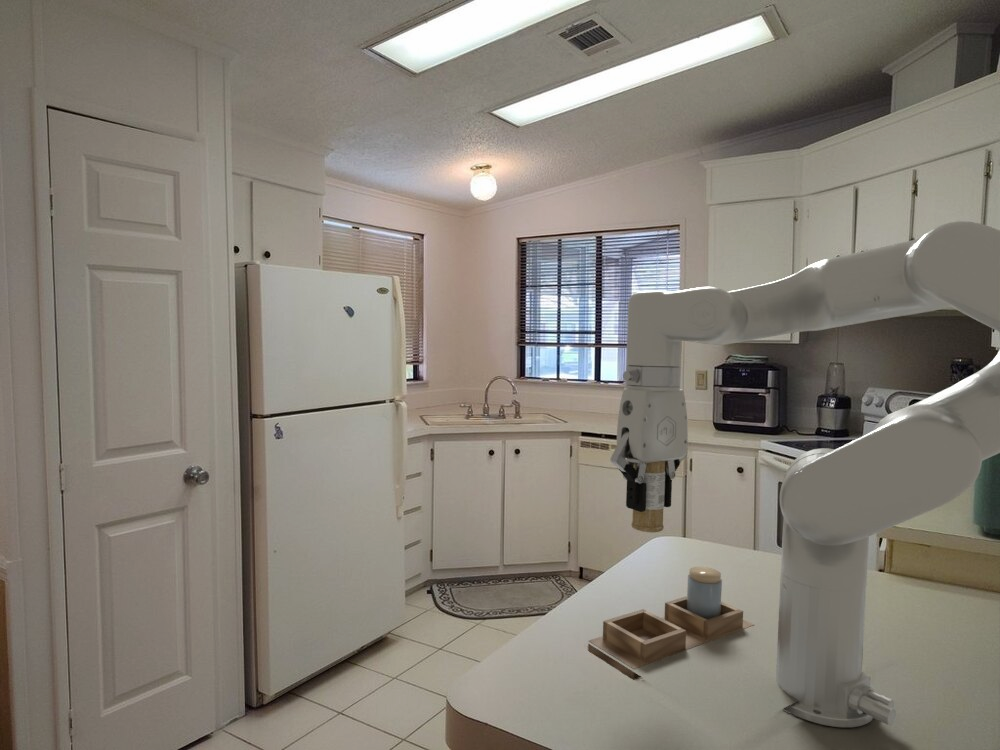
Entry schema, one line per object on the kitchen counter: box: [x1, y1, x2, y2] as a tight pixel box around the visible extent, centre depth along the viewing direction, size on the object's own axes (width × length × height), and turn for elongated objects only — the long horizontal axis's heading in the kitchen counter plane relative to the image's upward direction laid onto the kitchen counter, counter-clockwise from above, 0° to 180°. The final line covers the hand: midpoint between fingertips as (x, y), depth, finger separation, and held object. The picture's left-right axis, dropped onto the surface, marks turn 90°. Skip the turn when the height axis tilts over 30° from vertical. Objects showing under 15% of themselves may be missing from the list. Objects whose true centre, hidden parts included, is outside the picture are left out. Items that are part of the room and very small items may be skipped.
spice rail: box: [587, 595, 755, 681], centre depth 91 cm, size 9×26×4 cm, turn 123°
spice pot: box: [686, 566, 723, 620], centre depth 95 cm, size 5×5×8 cm
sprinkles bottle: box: [631, 458, 665, 533], centre depth 87 cm, size 5×5×14 cm
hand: (648, 505), depth 87 cm, fingers closed on sprinkles bottle, 4 cm apart
